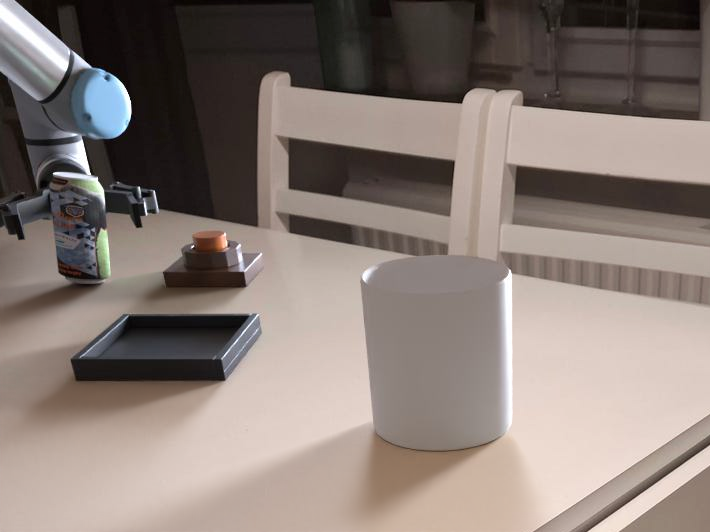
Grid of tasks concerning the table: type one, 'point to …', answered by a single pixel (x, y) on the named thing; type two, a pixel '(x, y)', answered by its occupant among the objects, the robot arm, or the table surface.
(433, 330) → the white cylinder
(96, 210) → the beverage can
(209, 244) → the button
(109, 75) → the robot arm
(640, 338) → the table surface
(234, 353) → the tray
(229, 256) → the block
